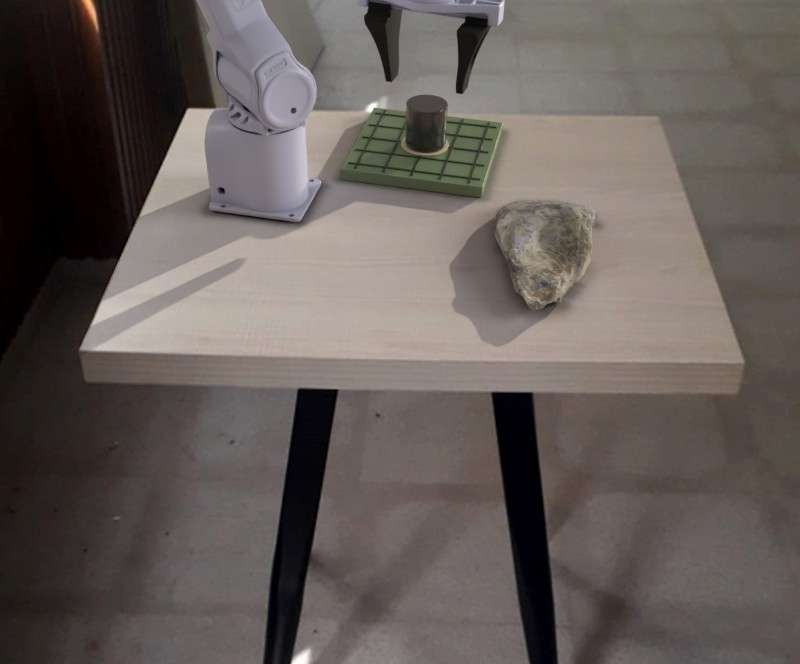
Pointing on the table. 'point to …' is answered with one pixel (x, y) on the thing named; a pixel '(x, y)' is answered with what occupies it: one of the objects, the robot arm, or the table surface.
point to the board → (423, 155)
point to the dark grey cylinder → (426, 123)
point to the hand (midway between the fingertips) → (426, 84)
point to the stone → (545, 247)
